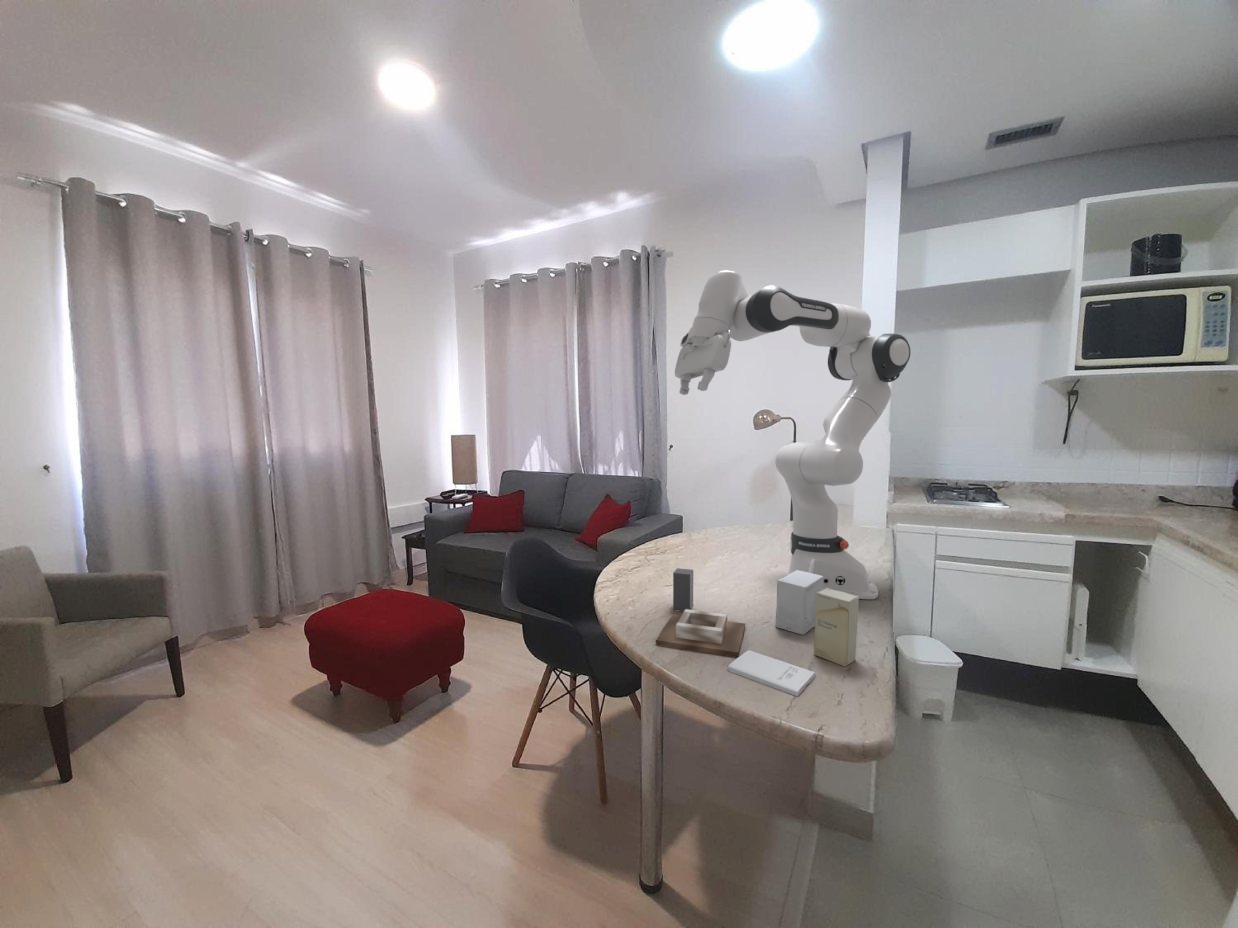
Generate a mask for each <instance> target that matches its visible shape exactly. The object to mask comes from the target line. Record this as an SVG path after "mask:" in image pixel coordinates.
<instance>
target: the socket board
mask: <svg viewBox="0 0 1238 928" xmlns="http://www.w3.org/2000/svg"><path fill="white" fill-rule="evenodd" d="M682 612H683V613H682V614H674V613H673V614H671V615H670V617H669V619H668V620H667V622H666V623H665V625H664V626H663V628H662V630H661V631H660V633H659V634H658V636H657V638H656V639H655V645H656V646H660V647H666V648H673V649H680V650H685V651H691V652H692V651H693V652H700V653H706V654H712V655H713V654H714V655H719V656H724V657H730V658H731V657H732V658H733V657H734V658H738V657H740V653H741V649H742V644H743V639H744V635H745V631H746V623H743V622H737V621H729V620H728V614H727V613H718V612H712V611H702V610H696V609H691V610H688V609H685V611H682Z"/></svg>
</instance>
